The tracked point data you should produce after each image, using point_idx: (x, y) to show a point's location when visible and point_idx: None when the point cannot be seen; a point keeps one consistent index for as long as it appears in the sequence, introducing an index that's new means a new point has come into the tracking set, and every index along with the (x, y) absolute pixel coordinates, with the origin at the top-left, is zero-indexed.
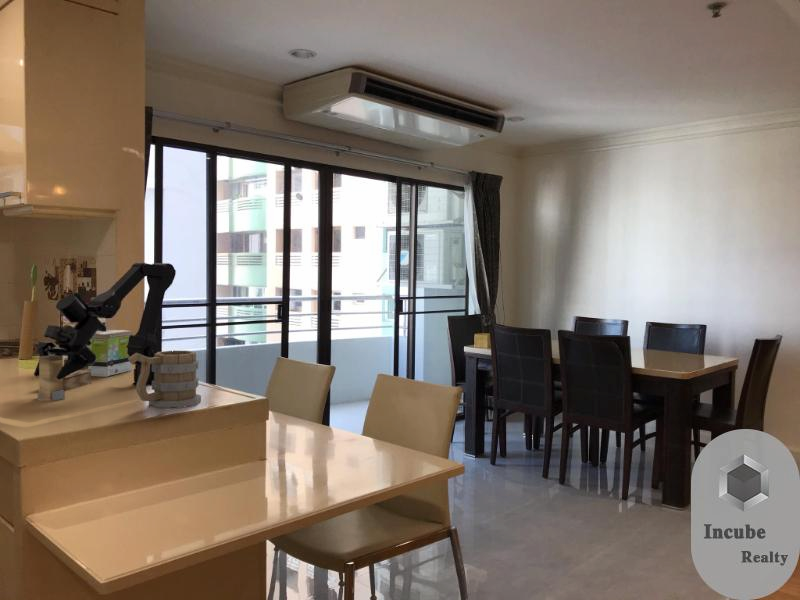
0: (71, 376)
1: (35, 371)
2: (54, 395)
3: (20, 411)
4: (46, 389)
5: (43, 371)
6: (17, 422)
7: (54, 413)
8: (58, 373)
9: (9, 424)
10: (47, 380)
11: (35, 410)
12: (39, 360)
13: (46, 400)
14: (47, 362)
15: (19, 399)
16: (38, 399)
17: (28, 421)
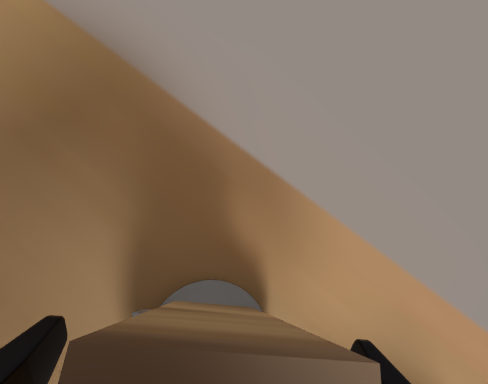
0: None
1: (381, 361)
2: (138, 310)
3: (172, 147)
4: (193, 305)
5: (229, 320)
6: (44, 34)
7: (7, 165)
8: (31, 347)
9: (50, 13)
10: (176, 308)
11: (130, 178)
12: (337, 348)
13: (183, 289)
14: (139, 327)
15: (389, 317)
16: (241, 291)
17: (16, 51)
